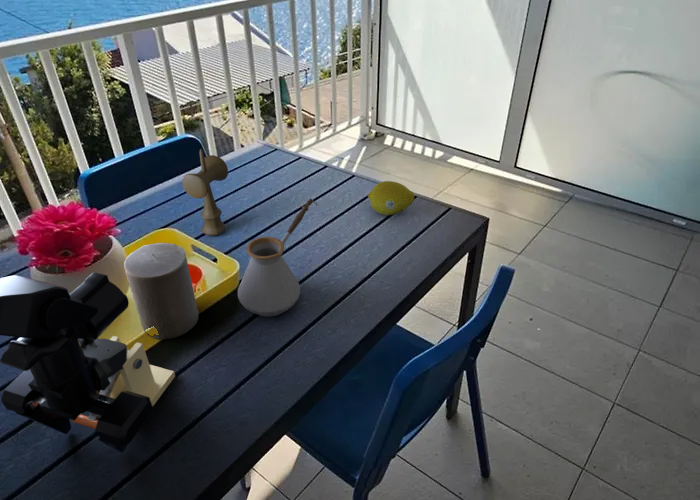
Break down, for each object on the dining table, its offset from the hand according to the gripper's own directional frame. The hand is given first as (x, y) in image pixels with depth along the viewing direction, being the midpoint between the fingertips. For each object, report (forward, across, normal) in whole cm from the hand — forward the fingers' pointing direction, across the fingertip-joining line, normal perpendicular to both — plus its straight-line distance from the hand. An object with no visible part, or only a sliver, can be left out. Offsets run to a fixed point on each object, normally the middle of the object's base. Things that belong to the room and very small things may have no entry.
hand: (95, 439), depth 69 cm
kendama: (+1, +10, -52) cm, 53 cm away
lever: (-5, 0, -5) cm, 7 cm away
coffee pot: (+1, -12, -39) cm, 41 cm away
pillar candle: (+1, +4, -24) cm, 24 cm away
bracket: (0, 0, -8) cm, 8 cm away
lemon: (+1, -25, -72) cm, 77 cm away
